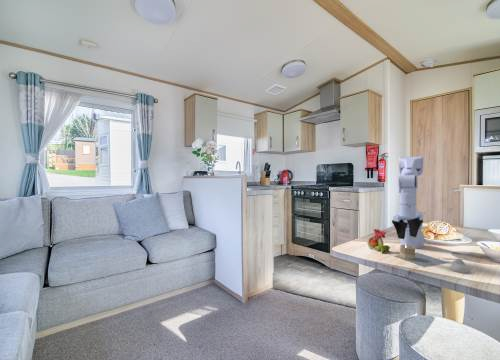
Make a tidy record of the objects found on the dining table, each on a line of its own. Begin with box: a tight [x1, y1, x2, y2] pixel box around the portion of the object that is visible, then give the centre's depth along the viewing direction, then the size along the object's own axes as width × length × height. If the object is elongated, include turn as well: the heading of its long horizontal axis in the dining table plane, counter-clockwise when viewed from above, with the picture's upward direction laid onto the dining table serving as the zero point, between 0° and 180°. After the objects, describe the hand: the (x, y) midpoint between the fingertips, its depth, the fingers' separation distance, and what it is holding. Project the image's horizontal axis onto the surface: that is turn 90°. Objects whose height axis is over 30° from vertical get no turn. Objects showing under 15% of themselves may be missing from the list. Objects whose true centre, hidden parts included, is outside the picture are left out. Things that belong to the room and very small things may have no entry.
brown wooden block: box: [399, 244, 416, 260], centre depth 98 cm, size 5×5×4 cm
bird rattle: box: [367, 228, 391, 254], centre depth 109 cm, size 6×11×9 cm
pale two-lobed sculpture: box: [450, 258, 470, 274], centre depth 86 cm, size 4×8×5 cm
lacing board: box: [393, 252, 450, 268], centre depth 97 cm, size 14×13×1 cm
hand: (407, 237), depth 98 cm, fingers open, 7 cm apart
